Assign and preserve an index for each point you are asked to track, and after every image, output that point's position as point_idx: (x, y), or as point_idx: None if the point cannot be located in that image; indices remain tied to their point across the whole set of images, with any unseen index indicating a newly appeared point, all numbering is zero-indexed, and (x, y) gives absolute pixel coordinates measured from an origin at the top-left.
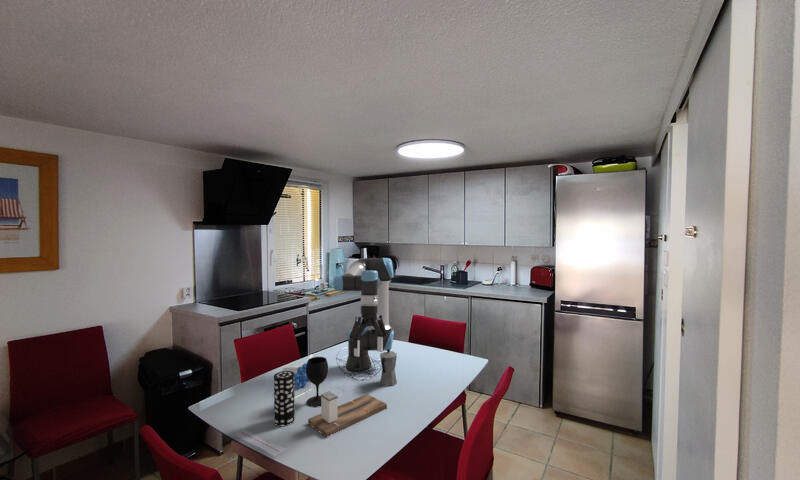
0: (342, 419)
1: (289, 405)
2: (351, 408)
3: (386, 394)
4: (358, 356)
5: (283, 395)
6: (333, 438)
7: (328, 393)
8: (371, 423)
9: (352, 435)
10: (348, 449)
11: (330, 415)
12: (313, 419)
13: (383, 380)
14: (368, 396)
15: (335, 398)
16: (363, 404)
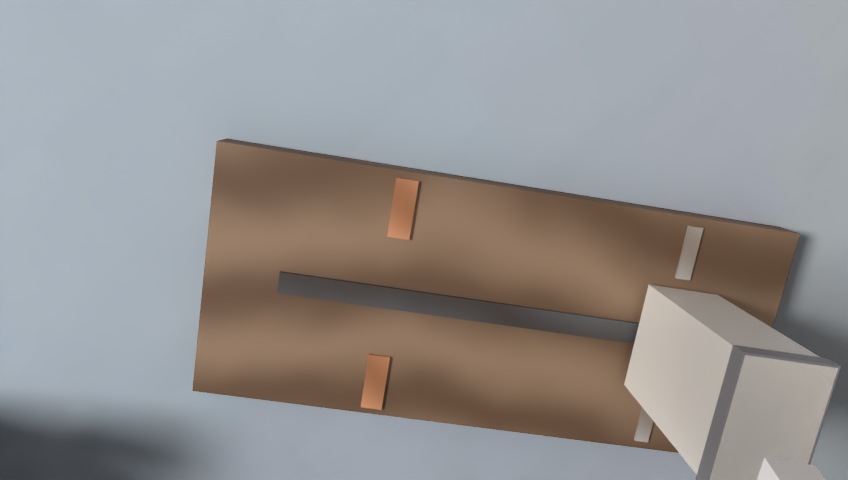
0: (613, 266)
1: None
2: (453, 326)
3: (48, 292)
4: (797, 464)
5: None
6: (763, 182)
7: (747, 460)
8: (475, 91)
9: (671, 99)
10: (810, 5)
11: (737, 310)
12: None
13: None
14: (220, 353)
15: (759, 349)
16: (353, 291)
